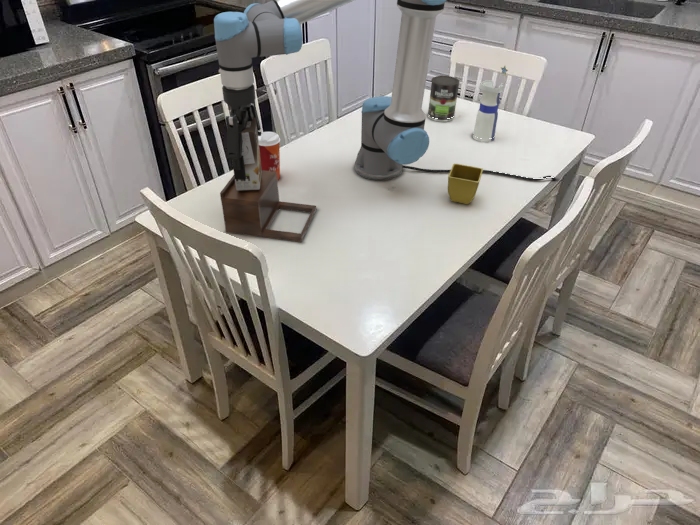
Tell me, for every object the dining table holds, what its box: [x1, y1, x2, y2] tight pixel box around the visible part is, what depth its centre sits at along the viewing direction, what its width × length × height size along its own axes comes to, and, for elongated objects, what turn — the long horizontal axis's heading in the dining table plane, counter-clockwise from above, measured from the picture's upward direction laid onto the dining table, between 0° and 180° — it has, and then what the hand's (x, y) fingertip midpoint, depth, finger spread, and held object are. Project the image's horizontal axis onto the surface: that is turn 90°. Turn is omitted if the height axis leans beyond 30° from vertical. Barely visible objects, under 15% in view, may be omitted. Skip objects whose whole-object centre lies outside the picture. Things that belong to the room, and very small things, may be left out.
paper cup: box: [258, 131, 281, 181], centre depth 163 cm, size 8×8×14 cm
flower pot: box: [447, 163, 484, 205], centre depth 156 cm, size 9×9×9 cm
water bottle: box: [472, 65, 509, 143], centre depth 185 cm, size 8×9×25 cm
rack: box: [219, 170, 317, 243], centre depth 145 cm, size 21×16×12 cm
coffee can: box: [427, 75, 460, 123], centre depth 202 cm, size 10×10×14 cm
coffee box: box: [231, 118, 262, 190], centre depth 137 cm, size 9×6×16 cm
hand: (247, 169), depth 140 cm, fingers closed on coffee box, 10 cm apart
